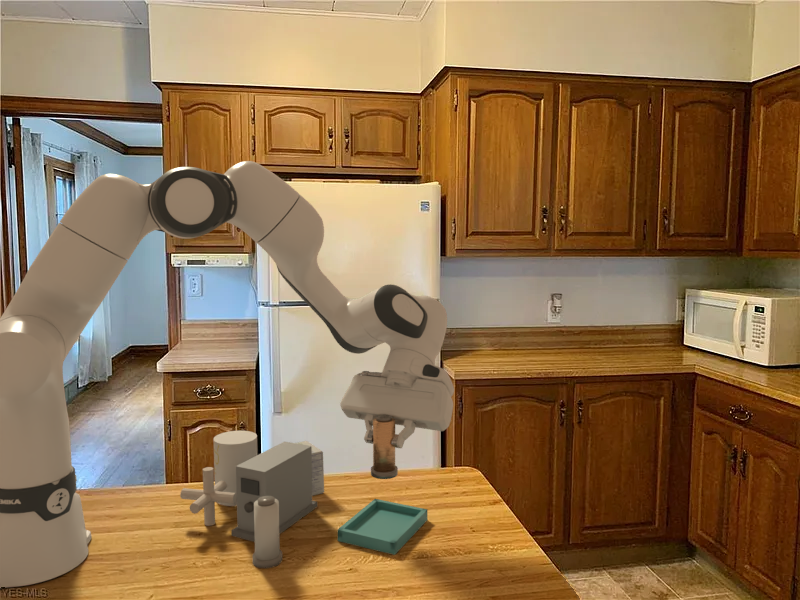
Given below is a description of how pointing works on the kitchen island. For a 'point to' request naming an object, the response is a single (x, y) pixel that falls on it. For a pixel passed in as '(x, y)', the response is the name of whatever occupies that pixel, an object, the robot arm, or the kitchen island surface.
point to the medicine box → (316, 469)
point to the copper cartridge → (383, 448)
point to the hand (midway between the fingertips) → (382, 444)
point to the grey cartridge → (266, 533)
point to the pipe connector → (208, 496)
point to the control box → (275, 486)
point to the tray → (383, 526)
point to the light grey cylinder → (232, 456)
